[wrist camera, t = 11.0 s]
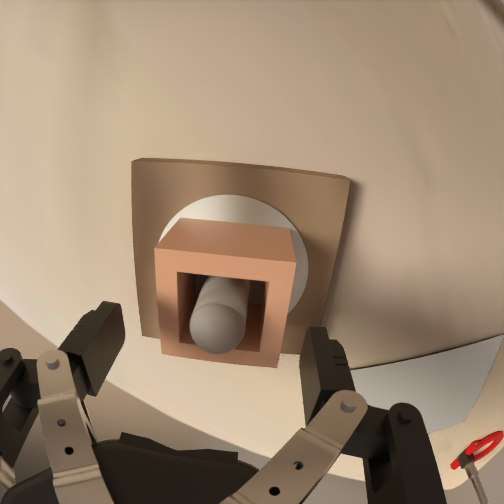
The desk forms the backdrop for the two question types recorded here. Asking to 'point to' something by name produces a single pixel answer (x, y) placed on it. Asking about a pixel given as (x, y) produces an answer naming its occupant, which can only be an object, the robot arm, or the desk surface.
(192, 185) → the post stand
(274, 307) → the collar
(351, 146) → the desk surface
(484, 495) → the tow hook
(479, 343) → the grey flat panel
